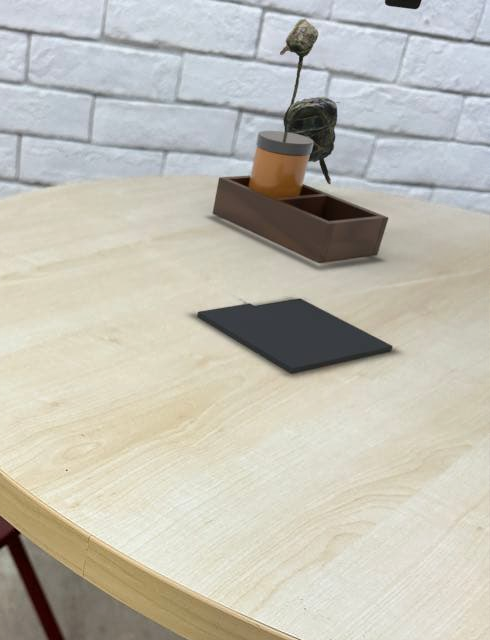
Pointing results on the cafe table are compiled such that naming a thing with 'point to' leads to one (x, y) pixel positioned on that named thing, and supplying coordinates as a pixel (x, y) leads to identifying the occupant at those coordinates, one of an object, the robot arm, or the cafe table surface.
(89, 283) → the cafe table surface
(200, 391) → the cafe table surface
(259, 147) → the jar
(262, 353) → the coaster
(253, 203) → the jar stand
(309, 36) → the plant with pod
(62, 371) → the cafe table surface
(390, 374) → the cafe table surface
